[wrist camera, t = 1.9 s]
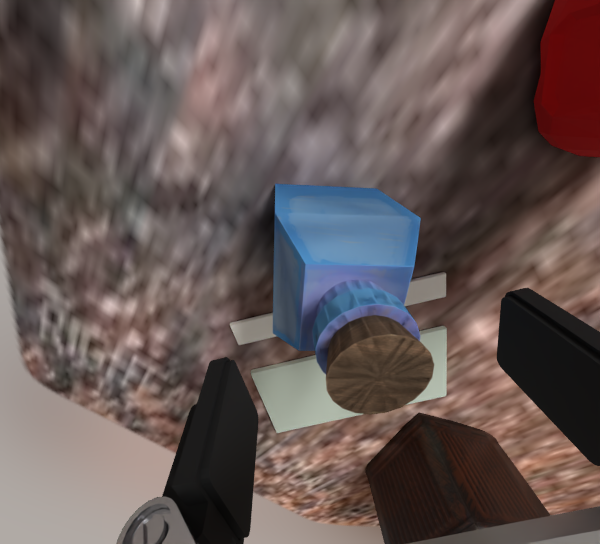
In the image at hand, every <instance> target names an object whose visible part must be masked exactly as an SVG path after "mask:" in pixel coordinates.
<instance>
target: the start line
mask: <svg viewBox="0 0 600 544" xmlns="http://www.w3.org/2000/svg"><path fill="white" fill-rule="evenodd" d="M443 297H446V273H445V272H441V273H437V274H433V275H428V276H424V277H420V278H416V279H412V280H411V281H410V284H409V288H408V292H407V296H406V300H405V303H404V306H409V305H413V304H417V303H421V302H426V301H430V300H434V299H439V298H443ZM230 327H231V329H232V331H233V334H234V336H235V338H236V340H237V343H238V345H243V344H247V343H251V342H255V341H260V340H264V339H268V338H272V337H277V336H276V335H275V334H273V313H269V314H265V315H261V316H256V317H252V318H248V319H244V320H240V321H235V322H231V323H230Z"/></svg>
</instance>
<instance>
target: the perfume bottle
mask: <svg viewBox="0 0 600 544" xmlns="http://www.w3.org/2000/svg"><path fill="white" fill-rule="evenodd" d="M420 220H421V218H420V217H418V216H417V215H415V214H414V213H412V212H411V211H409V210H408V209H406V208H405V207H403V206H402V205H400V204H399V203H397V202H396V201H394V200H393V199H391V198H390V197H388V196H387V195H385V194H384V193H382V192H381V191H379V190H378V189H374V188H352V187H331V186H309V185H288V184H275V231H274V283H273V334H275V335H276V336H278V337H279V338H281V339H282V340H284V341H285V342H287V343H288V344H290V345H291V346H293V347H294V348H296V349H297V350H299V351H315V354H316V360H317V363H318V364H319V366H320V368H321V370H322V371H323V373H325V374H326V388H327V392H328V394H329V396H330V397H331V399H332V401H333V402H335V403H336V404H337V405H339V406H340V407H341V408H343V409H345V410H348V411H351V412H354V413H360V414H378V413H385V412H389V411H392V410H395V409H398V408H401V407H403V406H404V405H406V404H408V403H409V402H411V401H413V400H414V399H416V398H417V397H418V396H419V395H420V394H421V393H422V392H423V391H424V390H425V389H426V387H427V386H428V384H429V382H430V380H431V379H432V376H433V370H434V362H433V358H432V355H431V352H430V351H429V350H428V349H427V348H426V347H425V346H424V345H423V344H422V343H421V342H420V332H419V329H418V326H417V323H416V322H415V320H414V319H413V317H412V316H411V314H410V313H409V312H408V310H407V309H406V307H405V306H404V303H405V300H406V296H407V292H408V288H409V284H410V281H411V277H412V273H413V269H414V265H415V257H416V250H417V242H418V235H419V227H420Z"/></svg>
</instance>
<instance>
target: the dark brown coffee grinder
mask: <svg viewBox="0 0 600 544" xmlns="http://www.w3.org/2000/svg"><path fill="white" fill-rule="evenodd" d="M366 475H367V477H368V480H369V484H370V488H371V492H372V496H373V499H374V503H375V507H376V511H377V515H378V519H379V523H380V527H381V531H382V535H383V539H384V543H385V544H408V543H413V542H418V541H424V540H429V539H434V538H439V537H444V536H449V535H454V534H459V533H464V532H469V531H474V530H480V529H485V528H490V527H495V526H500V525H505V524H510V523H516V522H521V521H526V520H531V519H536V518H541V517H547V516H550V514H549V513H548V511H547V510H546V508H545V507H544V506H543V504H542V503H541V501H540V500H539V499H538V497H537V496H536V494H535V493H534V492H533V490H532V489H531V487H530V486H529V485H528V483H527V482H526V480H525V479H524V478H523V476H522V475H521V474H520V472H519V471H518V469H517V468H516V467H515V465H514V464H513V462H512V461H511V460H510V458H509V457H508V456H507V454H506V453H505V452H504V450H503V449H502V448H501V446H500V445H499V444H498V442H497V440H496V439H495V438H494V437H493V436H492V435H490V434H488V433H486V432H485V431H483V430H480V429H477V428H473V427H470V426H467V425H464V424H461V423H457V422H454V421H450V420H446V419H442V418H438V417H434V416H430V415H426V414H422V413H419V414H418V415H417V416H415V417H414V418H413V419H412V420H411V421H410V422H409V423H407V424H406V425H405V426H404V427H403V428H402V429H401V431H400V432H399V433H398V434H397V435H396V436H395V437H394V438H393V439H392V440H391V441H390V442H389V443H388V444H387V445H386V446H385V447H384V448H383V449H382V450H381V451H380V452H379V453H378V454H377V456H376V457H375V458H374V459H373V460H372V461H371V462H370V463H369V464H368V466H367V469H366Z"/></svg>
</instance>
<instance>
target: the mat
mask: <svg viewBox="0 0 600 544" xmlns="http://www.w3.org/2000/svg"><path fill="white" fill-rule="evenodd" d="M419 332H420V342H421V343H422V344H423V345H424V346H425V347H426V348H427V349H428V350H429V351H430V352H431V355H432V358H433V362H434V370H433V376H432V379H431V380H430V382H429V384H428V386H427V387H426V389H425V390H424V391H423V392H422V393H421V394H420V395H419V396H418V397H417V398H416V399H414V400H413V401H411V402H409V403H408V404H412V403H416V402H421V401H425V400H430V399H434V398H439V397H443V396H446V354H447V329H446V327H445V326H440V327H435V328H431V329H427V330H422V331H419ZM251 376H252V378H253V380H254V382H255V385H256V387H257V389H258V391H259V394H260V396H261V398H262V400H263V403H264V405H265V407H266V410H267V412H268V414H269V416H270V419H271V421H272V423H273V425H274V428H275V430H276V432H277V433H280V432H284V431H289V430H293V429H298V428H302V427H307V426H311V425H316V424H321V423H325V422H330V421H334V420H339V419H343V418H348V417H352V416H357V415H362V414H360V413H354V412H351V411H348V410H345V409H343V408H341V407H340V406H339V405H337V404H336V403H335V402H333V401H332V399H331V397H330V396H329V394H328V392H327V388H326V374H325V373H323V371H322V370H321V368H320V366H319V364H318V363H317V360H316V355H314V356H309V357H305V358H301V359H296V360H292V361H288V362H283V363H279V364H275V365H270V366H266V367H262V368H257V369H253V370H251ZM406 405H407V404H406Z"/></svg>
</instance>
